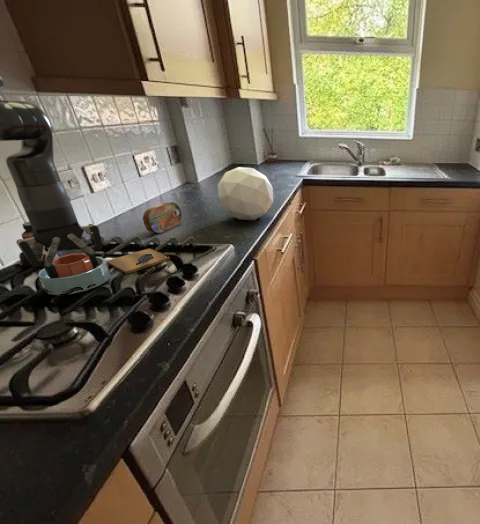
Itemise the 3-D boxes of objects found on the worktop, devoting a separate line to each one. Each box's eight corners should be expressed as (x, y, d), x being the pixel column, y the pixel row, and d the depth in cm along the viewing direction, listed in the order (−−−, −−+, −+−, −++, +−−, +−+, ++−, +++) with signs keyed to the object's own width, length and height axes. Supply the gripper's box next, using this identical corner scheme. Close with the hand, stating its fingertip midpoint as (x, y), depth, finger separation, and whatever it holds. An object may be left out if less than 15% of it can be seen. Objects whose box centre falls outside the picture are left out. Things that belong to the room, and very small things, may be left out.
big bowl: (57, 302, 71) (49, 284, 69) (38, 286, 77) (30, 269, 75) (119, 281, 80) (114, 264, 78) (98, 268, 86) (93, 252, 84)
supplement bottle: (66, 262, 89) (50, 222, 84) (36, 269, 85) (17, 228, 80) (62, 256, 92) (46, 217, 88) (33, 263, 88) (15, 222, 84)
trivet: (126, 274, 83) (125, 271, 83) (107, 263, 89) (106, 260, 89) (170, 259, 92) (169, 257, 91) (150, 250, 97) (149, 248, 97)
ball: (263, 236, 128) (274, 203, 113) (208, 221, 121) (212, 183, 107) (272, 202, 139) (283, 167, 124) (222, 186, 132) (227, 147, 118)
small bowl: (67, 291, 74) (57, 267, 72) (57, 283, 78) (47, 260, 75) (100, 280, 79) (92, 257, 77) (89, 273, 83) (81, 251, 80)
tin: (154, 236, 107) (146, 211, 104) (145, 236, 108) (138, 211, 104) (184, 222, 121) (179, 199, 117) (176, 221, 121) (171, 199, 118)
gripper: (81, 195, 78) (104, 259, 85) (-5, 208, 67) (29, 281, 74) (94, 200, 74) (117, 267, 81) (5, 215, 63) (41, 291, 70)
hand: (75, 273), depth 78 cm, fingers closed on small bowl, 6 cm apart
